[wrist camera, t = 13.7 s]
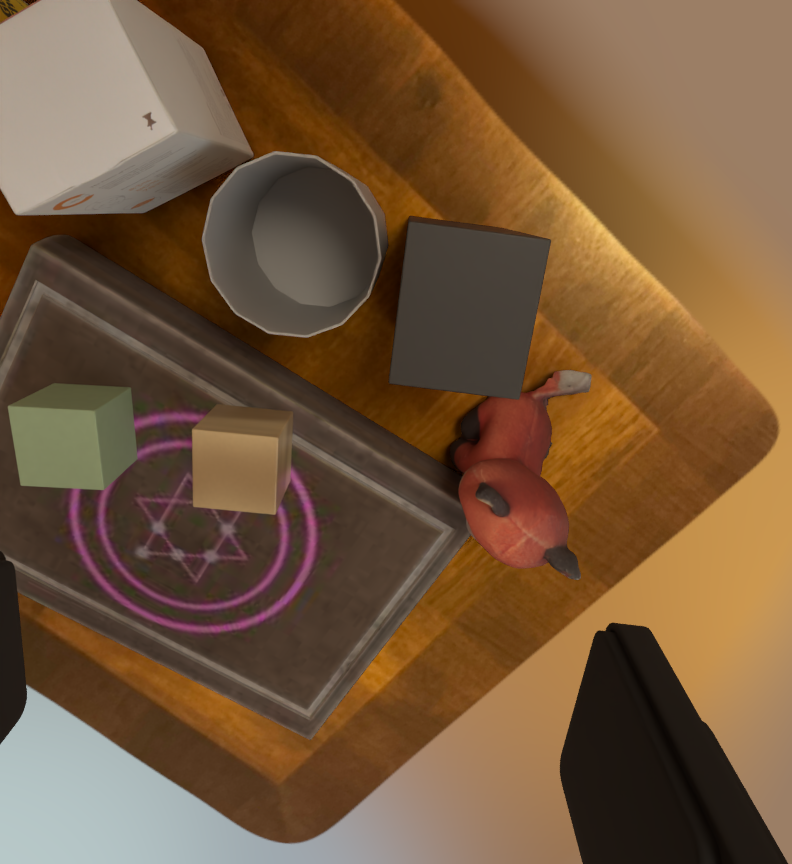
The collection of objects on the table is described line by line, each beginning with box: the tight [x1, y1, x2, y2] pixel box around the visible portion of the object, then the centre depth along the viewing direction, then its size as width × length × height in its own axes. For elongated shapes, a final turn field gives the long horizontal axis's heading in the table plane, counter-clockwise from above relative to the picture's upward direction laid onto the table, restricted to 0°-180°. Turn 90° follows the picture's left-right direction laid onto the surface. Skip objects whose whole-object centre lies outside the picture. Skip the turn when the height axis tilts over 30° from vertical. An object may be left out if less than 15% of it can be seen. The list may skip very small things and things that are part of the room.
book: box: [0, 235, 471, 740], centre depth 43 cm, size 30×22×5 cm
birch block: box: [192, 404, 293, 515], centre depth 36 cm, size 5×5×5 cm
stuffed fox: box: [450, 370, 591, 580], centre depth 37 cm, size 8×11×12 cm
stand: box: [389, 216, 551, 400], centre depth 33 cm, size 7×6×14 cm
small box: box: [0, 0, 254, 215], centre depth 31 cm, size 8×6×13 cm
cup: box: [202, 151, 388, 338], centre depth 34 cm, size 8×8×10 cm
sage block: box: [8, 383, 138, 490], centre depth 36 cm, size 5×5×5 cm
